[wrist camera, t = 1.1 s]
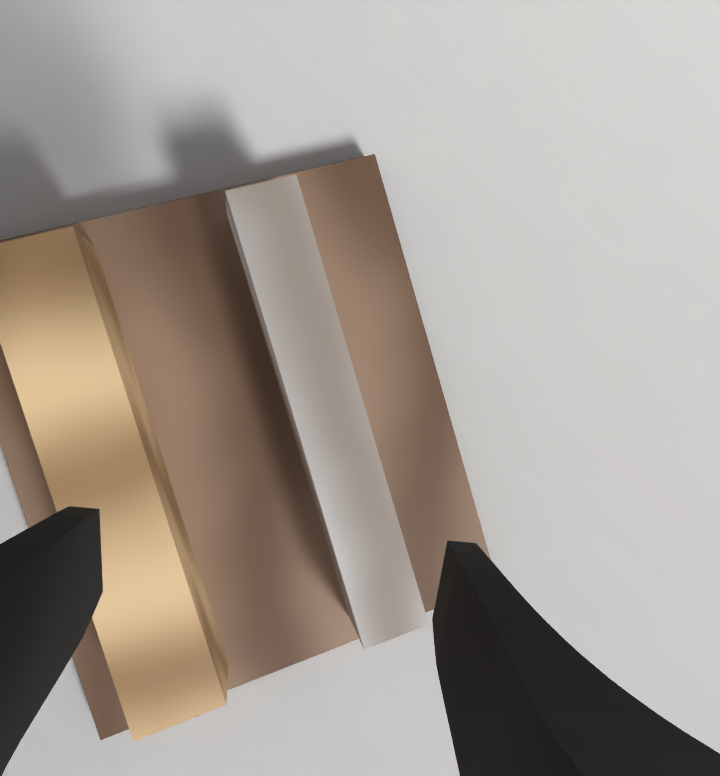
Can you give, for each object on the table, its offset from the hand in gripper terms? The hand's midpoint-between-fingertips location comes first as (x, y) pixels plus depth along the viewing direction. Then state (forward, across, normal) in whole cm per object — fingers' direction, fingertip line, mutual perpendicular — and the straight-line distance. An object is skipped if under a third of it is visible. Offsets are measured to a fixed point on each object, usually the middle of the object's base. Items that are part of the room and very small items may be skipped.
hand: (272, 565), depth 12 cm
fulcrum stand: (+11, +2, +2) cm, 11 cm away
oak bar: (+9, +6, +3) cm, 11 cm away
